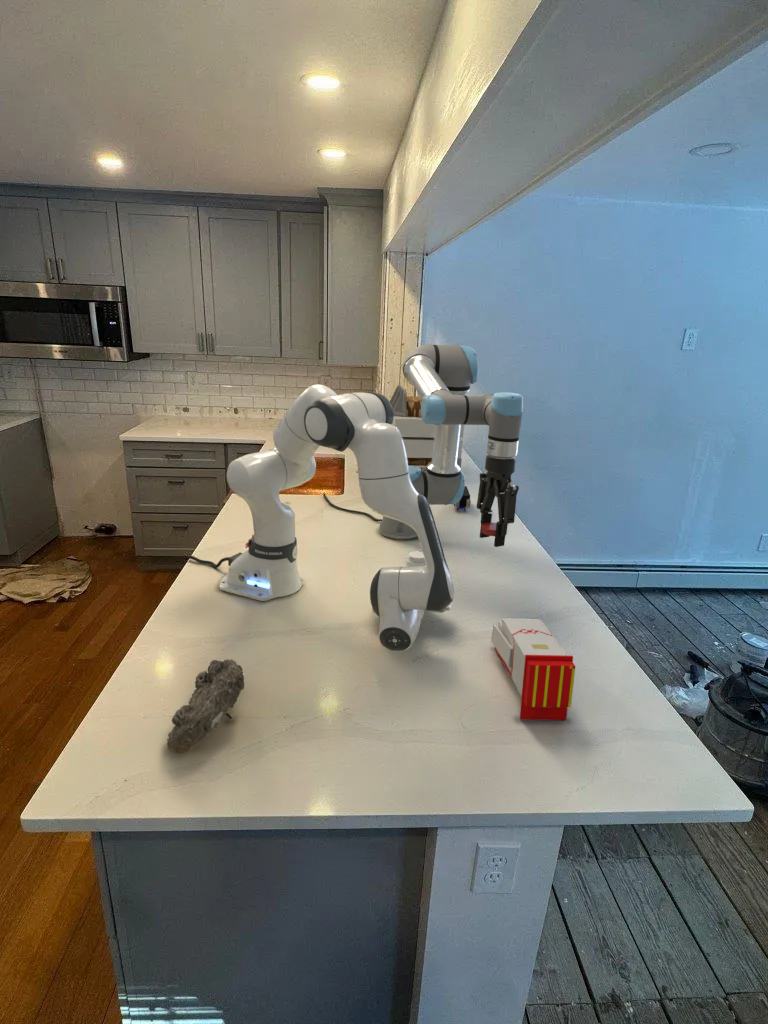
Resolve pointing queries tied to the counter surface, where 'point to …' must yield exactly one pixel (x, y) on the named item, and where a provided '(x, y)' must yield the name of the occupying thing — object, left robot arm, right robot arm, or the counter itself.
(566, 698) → the toy
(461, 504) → the figurine character
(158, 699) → the counter surface
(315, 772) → the counter surface
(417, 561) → the jar
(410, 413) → the white wooden crate
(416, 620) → the left robot arm
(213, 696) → the fossil
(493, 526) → the lid
